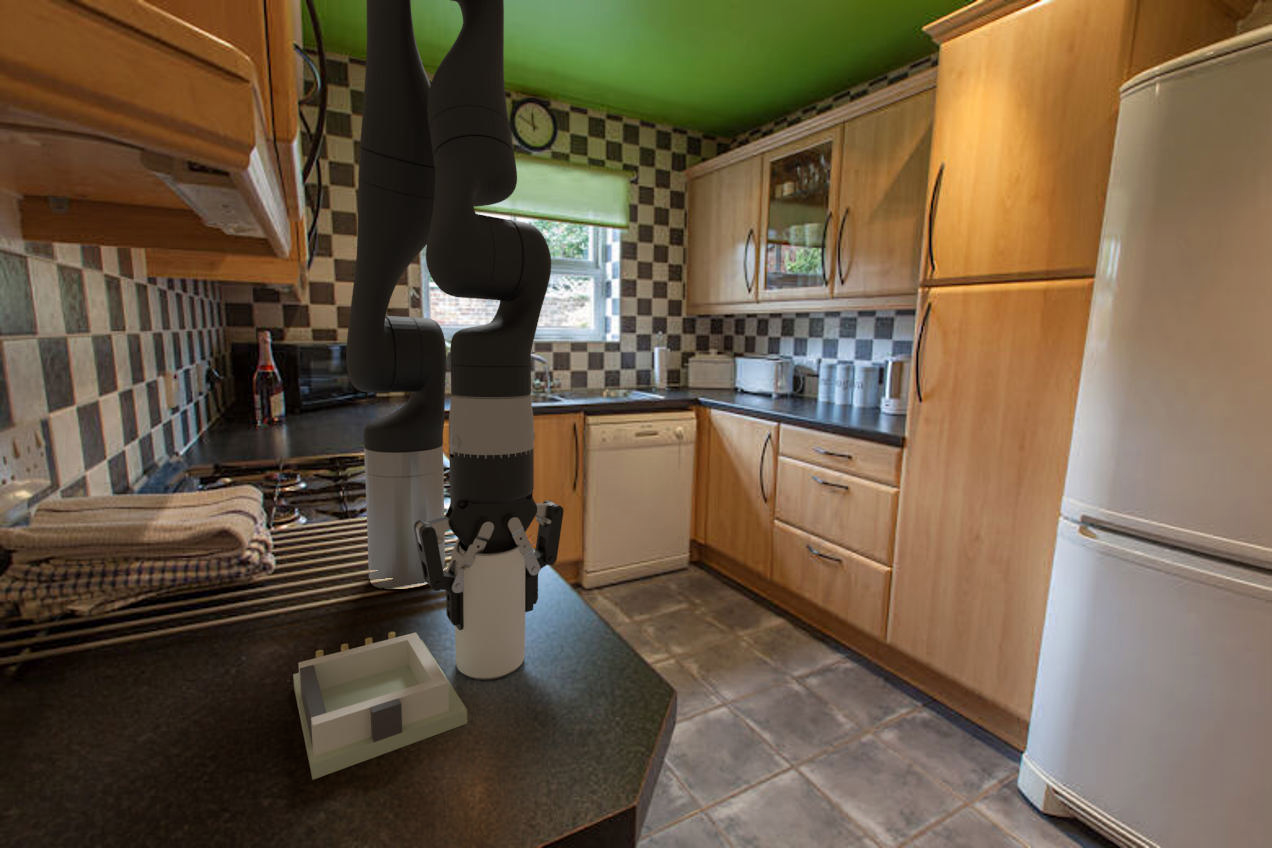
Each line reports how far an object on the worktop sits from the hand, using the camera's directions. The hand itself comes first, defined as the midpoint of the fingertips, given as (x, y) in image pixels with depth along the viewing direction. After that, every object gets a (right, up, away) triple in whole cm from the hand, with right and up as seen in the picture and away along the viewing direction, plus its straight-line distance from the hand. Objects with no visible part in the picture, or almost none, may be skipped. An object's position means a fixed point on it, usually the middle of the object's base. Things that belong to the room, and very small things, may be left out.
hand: (493, 616), depth 55 cm
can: (0, -5, +1) cm, 5 cm away
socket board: (-8, -5, -6) cm, 12 cm away
